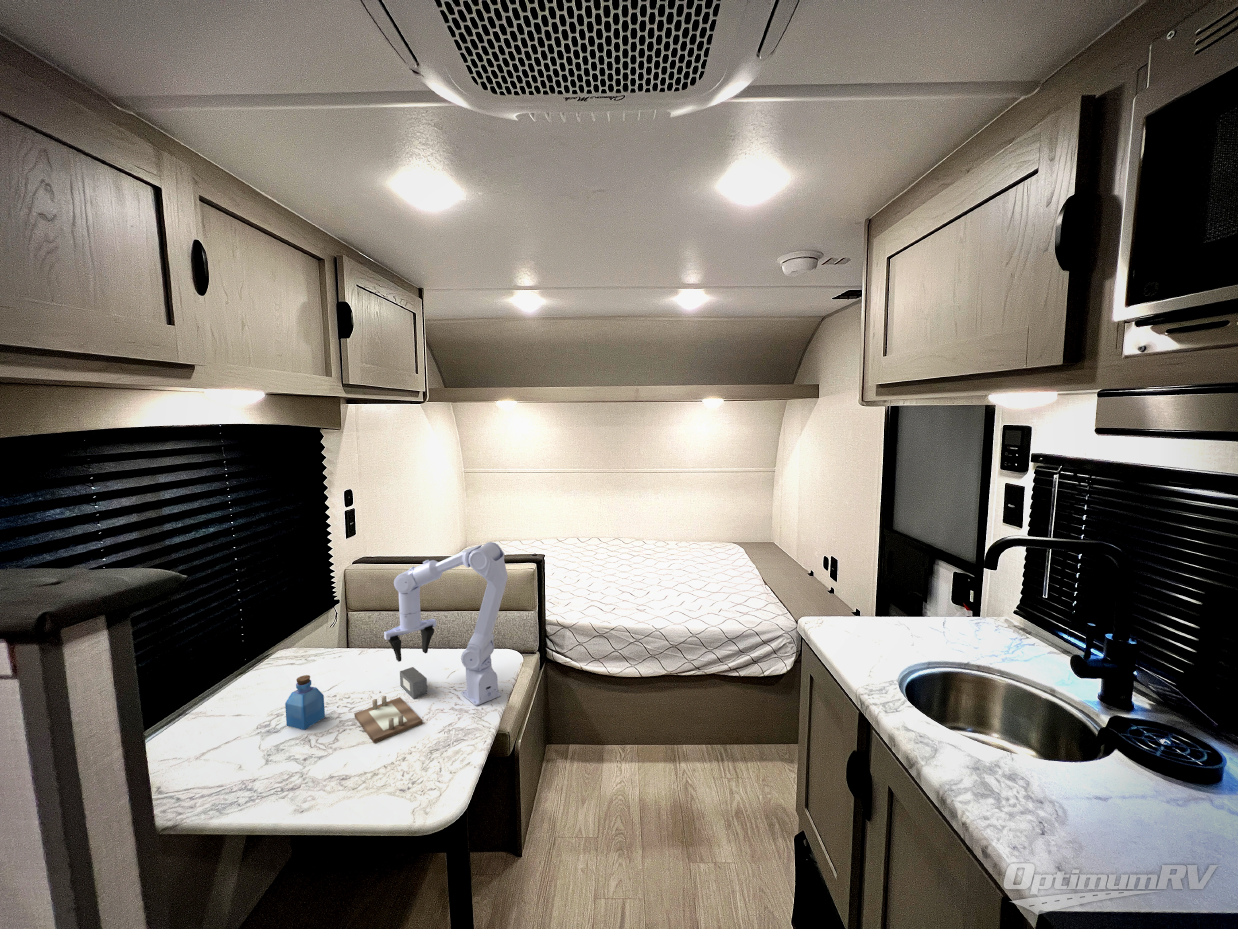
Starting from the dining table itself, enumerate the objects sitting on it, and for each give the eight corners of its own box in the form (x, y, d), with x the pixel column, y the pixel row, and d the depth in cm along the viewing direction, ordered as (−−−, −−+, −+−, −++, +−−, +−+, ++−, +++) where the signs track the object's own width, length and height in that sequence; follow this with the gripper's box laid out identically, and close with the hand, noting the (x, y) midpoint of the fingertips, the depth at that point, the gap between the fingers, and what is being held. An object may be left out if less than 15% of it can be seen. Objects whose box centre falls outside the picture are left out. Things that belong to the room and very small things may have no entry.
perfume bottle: (304, 730, 132) (301, 685, 131) (286, 726, 134) (283, 681, 133) (325, 717, 138) (322, 674, 137) (307, 713, 140) (305, 671, 139)
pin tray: (422, 723, 134) (421, 710, 133) (373, 743, 126) (373, 729, 125) (400, 700, 145) (399, 688, 145) (354, 717, 137) (353, 704, 137)
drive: (427, 694, 149) (426, 678, 148) (413, 699, 146) (412, 683, 146) (413, 682, 156) (413, 666, 156) (400, 687, 153) (399, 671, 153)
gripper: (428, 602, 157) (430, 644, 158) (379, 614, 147) (381, 659, 148) (438, 607, 152) (440, 651, 153) (387, 620, 142) (390, 667, 143)
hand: (412, 656), depth 150 cm, fingers open, 7 cm apart
